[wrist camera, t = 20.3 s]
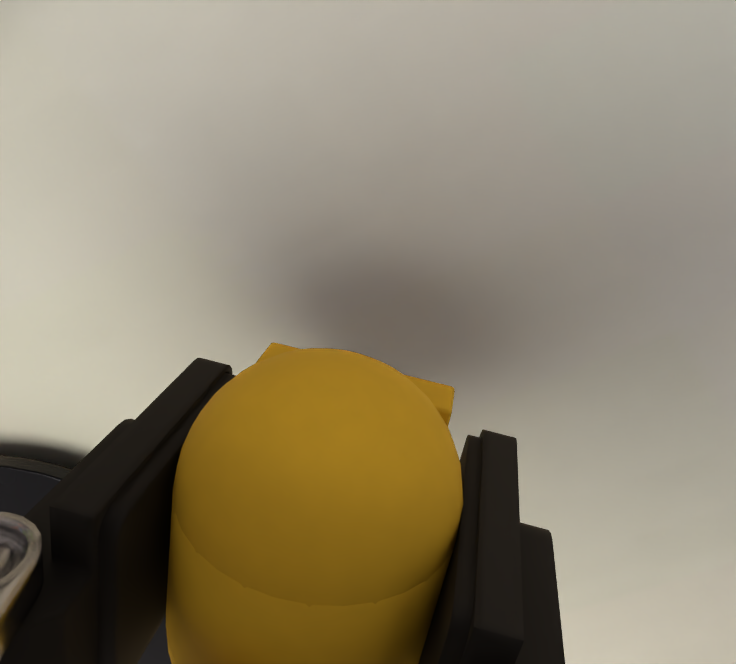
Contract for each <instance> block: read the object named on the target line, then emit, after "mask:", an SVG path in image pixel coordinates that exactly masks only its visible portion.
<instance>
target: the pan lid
mask: <svg viewBox="0 0 736 664" xmlns="http://www.w3.org/2000/svg"><path fill="white" fill-rule="evenodd" d="M71 470H72V469H69V468H66V467H62V466H59V465H56V464H52V463H48V462H43V461H37V460H32V459H27V458H22V457H10V456H0V512H8V513H12V514H15V515H19V516H23V517H24V516H25V515H26V514H27V513H28V512H29V511H30V510H31V509H32V508H33V507H34V506H35V505H36V504H37V503H38V502H39V501H40V500H41V499H42V498H43V497H44V496H45V495H46V494H48V493H49V492H50V491H51V490H52V489H53V488H54V487H55V486H56V485H57V484H58V483H59V482H60V481H61V480H62V479H63V478H64V477H65V476H66V475H67V474H68V473H69V472H70V471H71ZM137 664H172V663H171V659H170V656H169V652H168V643H167V631H166V616H165V618H164V619H163V621H162V623H161V624H160V626H159V628H158V629H157V631H156V633H155V634H154V636H153V638H152V640H151V641H150V643H149V645H148V646H147V648H146V650H145V651H144V653H143V655H142V656H141V658H140V660H139V661H138V663H137Z"/></svg>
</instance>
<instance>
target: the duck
mask: <svg viewBox="0 0 736 664" xmlns="http://www.w3.org/2000/svg"><path fill="white" fill-rule="evenodd" d="M454 392H455V391H454V388H453V387H452V386H448V385H444V384H440V383H435V382H431V381H427V380H423V379H419V378H415V377H411V376H407V375H403V374H402V373H400V372H399V371H397V370H396V369H394V368H393V367H391V366H389V365H387V364H385V363H383V362H381V361H378V360H376V359H373V358H371V357H368V356H365V355H362V354H359V353H355V352H351V351H346V350H340V349H328V348H309V349H298V348H294V347H290V346H286V345H282V344H278V343H271V344H270V346H269V347H268V348H267V349H266V351H265V352H264V353H263V354H262V356H261V357H260V358H259V359H258V361H257V362H256V363H255V364H254V365H252V366H250V367H248V368H247V369H245V370H243V371H242V372H241V373H239V374H238V375H237V376H235V377H234V378H233V379H231V380H230V381H229V382H227V383H226V384H225V385H224V386H223V387H222V388H221V389H220V390H218V391H217V392H216V393H215V394H214V395H213V397H212V398H211V399H210V400H209V402H208V403H207V404H206V405H205V407H204V408H203V409H202V410H201V412H200V413H199V415H198V417H197V418H196V420H195V421H194V423H193V425H192V426H191V428H190V431H189V433H188V435H187V437H186V439H185V441H184V444H183V446H182V448H181V452H180V456H179V460H178V464H177V468H176V474H175V479H174V485H173V493H172V511H171V529H170V547H169V565H168V583H167V601H166V631H167V643H168V652H169V656H170V659H171V663H172V664H418V663H419V660H420V656H421V653H422V650H423V647H424V643H425V640H426V637H427V634H428V630H429V627H430V624H431V620H432V617H433V614H434V611H435V607H436V604H437V601H438V598H439V594H440V591H441V588H442V585H443V581H444V578H445V575H446V572H447V568H448V565H449V562H450V558H451V555H452V552H453V549H454V545H455V541H456V537H457V532H458V527H459V522H460V518H461V513H462V508H463V490H462V476H461V464H460V460H459V457H458V454H457V451H456V448H455V445H454V442H453V439H452V437H451V434H450V431H449V429H448V424H449V421H450V417H451V413H452V406H453V399H454Z"/></svg>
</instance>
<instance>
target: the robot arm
mask: <svg viewBox="0 0 736 664" xmlns="http://www.w3.org/2000/svg"><path fill="white" fill-rule="evenodd" d="M234 377H235V375H232V368H231V366H230V365H226V364H222V363H218V362H214V361H210V360H206V359H203V358H197V359H195V360H194V361H193V362H192V363H191V364H190V365H189V366H188V367H187V368H186V369H185V370H184V371H183V372H182V373H181V374H180V375H179V376H178V377H177V378H176V379H175V380H174V381H173V382H172V383H171V384H170V385H169V386H168V387H167V388H166V389H165V390H164V391H163V392H162V393H161V394H160V395H159V396H158V397H157V398H156V399H155V400H154V401H153V402H152V403H151V404H150V405H149V406H148V407H147V408H146V409H145V410H144V411H143V412H142V413H141V414H140V415H139V416H138V417H137V418H136V419H135V420H133V419H127V420H124V421H123V422H121V423H120V424H119V425H118V426H116V427H115V428H114V429H113V430H112V431H111V432H110V433H109V434H108V435H107V436H106V437H105V438H104V439H103V440H102V441H101V442H100V443H99V444H98V445H97V446H96V447H95V448H94V449H93V450H92V451H91V452H90V453H89V454H88V455H87V456H86V457H85V458H84V459H83V460H81V461H80V462H79V463H78V464H77V465H76V466H75V467H74V468H73V469H72V470H71V471H70V472H69V473H68V474H67V475H66V476H65V477H64V478H63V479H62V480H61V481H60V482H59V483H58V484H57V485H56V486H55V487H54V488H53V489H52V490H51V491H50V492H49V493H48V494H46V495H45V496H44V497H43V498H42V499H41V500H40V501H39V502H38V503H37V504H36V505H35V506H34V507H33V508H32V509H31V510H30V511H29V512H28V513H27V514H26V515H25V516H24V517H23V516H19V515H15V514H12V513H8V512H0V664H137V663H138V661H139V660H140V658H141V656H142V655H143V653H144V651H145V650H146V648H147V646H148V645H149V643H150V641H151V640H152V638H153V636H154V634H155V633H156V631H157V629H158V628H159V626H160V624H161V623H162V621H163V619H164V618H165V616H166V601H167V583H168V565H169V547H170V529H171V511H172V493H173V485H174V479H175V474H176V468H177V464H178V460H179V456H180V452H181V448H182V446H183V444H184V441H185V439H186V437H187V435H188V433H189V431H190V428H191V426H192V425H193V423H194V421H195V420H196V418H197V417H198V415H199V413H200V412H201V410H202V409H203V408H204V407H205V405H206V404H207V403H208V402H209V400H210V399H211V398H212V397H213V395H214V394H215V393H216V392H217V391H218V390H220V389H221V388H222V387H223V386H224V385H225V384H226V383H227V382H229V381H230V380H231V379H233V378H234ZM460 464H461V476H462V490H463V508H462V513H461V518H460V522H459V527H458V532H457V537H456V541H455V545H454V549H453V552H452V555H451V558H450V562H449V565H448V568H447V572H446V575H445V578H444V581H443V585H442V588H441V591H440V594H439V598H438V601H437V604H436V607H435V611H434V614H433V617H432V620H431V624H430V627H429V630H428V634H427V637H426V640H425V643H424V647H423V650H422V653H421V656H420V660H419V663H418V664H565V659H564V649H563V639H562V630H561V620H560V610H559V600H558V590H557V581H556V571H555V561H554V551H553V541H552V536H551V533H550V532H549V530H546V529H542V528H539V527H535V526H531V525H527V524H524V523H520V517H519V489H518V462H517V440H516V438H514V437H510V436H506V435H502V434H498V433H495V432H491V431H487V430H482V432H481V434H480V437H475V436H471V435H468V436H467V438H466V441H465V445H464V448H463V452H462V455H461V459H460Z"/></svg>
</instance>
